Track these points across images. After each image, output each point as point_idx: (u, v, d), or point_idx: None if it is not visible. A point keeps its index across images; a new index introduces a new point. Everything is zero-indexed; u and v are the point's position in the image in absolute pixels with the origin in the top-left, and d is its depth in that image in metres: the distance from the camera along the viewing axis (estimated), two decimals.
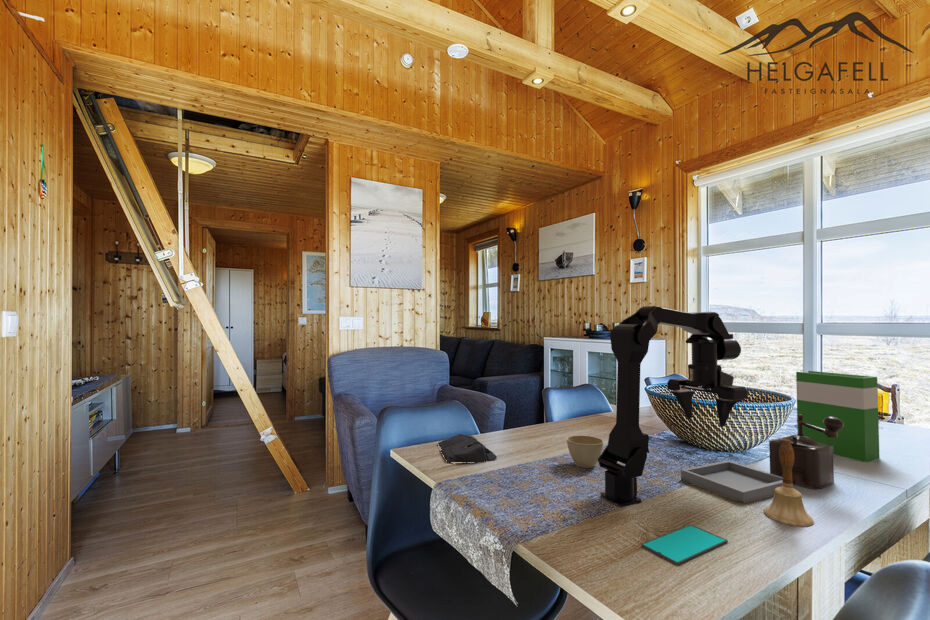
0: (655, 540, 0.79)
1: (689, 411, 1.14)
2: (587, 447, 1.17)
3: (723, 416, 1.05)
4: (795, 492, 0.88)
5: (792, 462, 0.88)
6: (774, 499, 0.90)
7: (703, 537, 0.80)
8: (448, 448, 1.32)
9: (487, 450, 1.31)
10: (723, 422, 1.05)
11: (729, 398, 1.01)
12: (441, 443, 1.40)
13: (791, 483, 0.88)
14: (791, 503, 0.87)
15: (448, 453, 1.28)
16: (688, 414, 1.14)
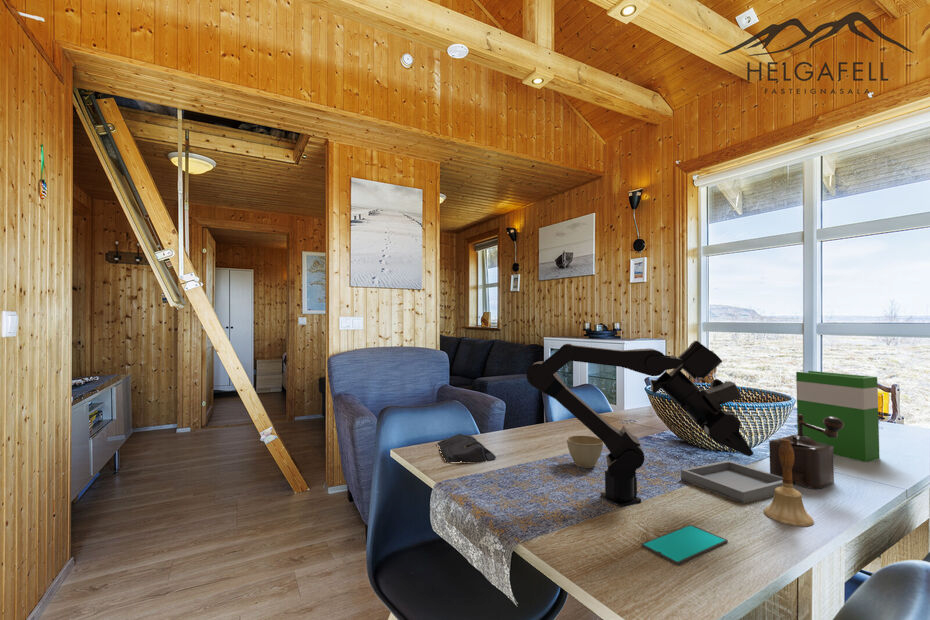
0: (655, 540, 0.79)
1: None
2: (587, 447, 1.17)
3: (738, 449, 0.87)
4: (795, 492, 0.88)
5: (792, 462, 0.88)
6: (774, 499, 0.90)
7: (703, 536, 0.80)
8: (447, 448, 1.32)
9: (486, 450, 1.31)
10: (747, 452, 0.87)
11: None
12: (440, 443, 1.40)
13: (791, 483, 0.88)
14: (791, 503, 0.87)
15: (447, 453, 1.28)
16: None
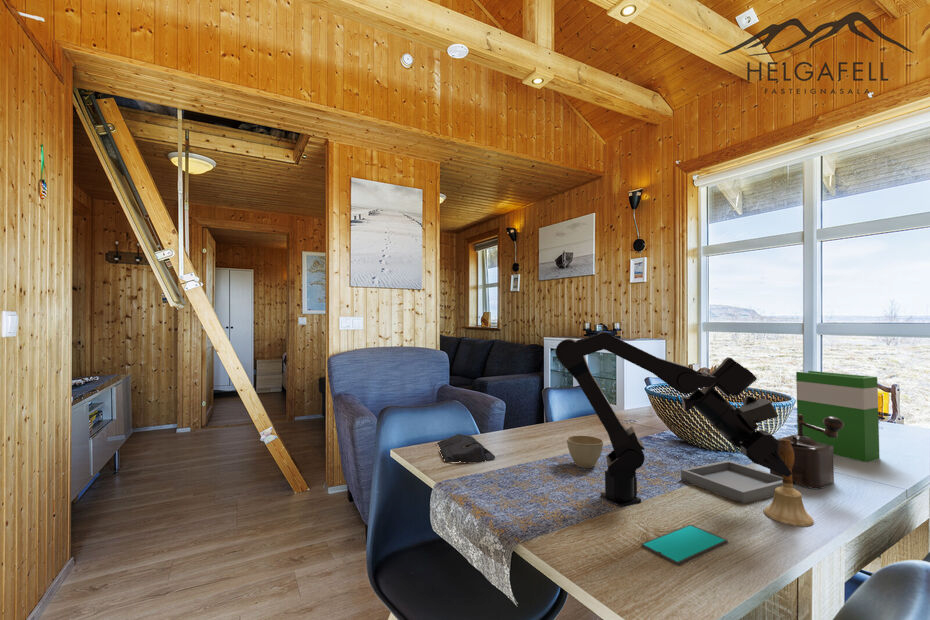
0: (655, 540, 0.79)
1: None
2: (587, 447, 1.17)
3: (776, 469, 0.85)
4: (795, 492, 0.88)
5: (792, 462, 0.88)
6: (774, 499, 0.90)
7: (703, 536, 0.80)
8: (446, 448, 1.32)
9: (485, 450, 1.31)
10: (785, 473, 0.85)
11: (752, 461, 0.84)
12: (440, 443, 1.40)
13: (791, 483, 0.88)
14: (791, 503, 0.87)
15: (446, 453, 1.28)
16: None
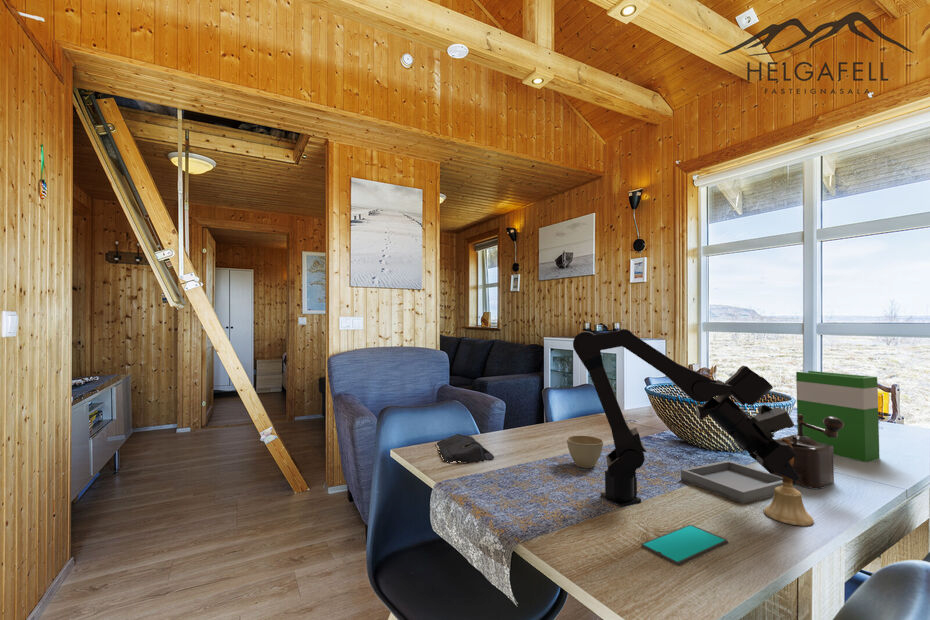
0: (655, 540, 0.79)
1: None
2: (587, 447, 1.17)
3: (785, 473, 0.88)
4: (795, 491, 0.88)
5: (792, 461, 0.88)
6: (774, 498, 0.90)
7: (703, 536, 0.80)
8: (446, 448, 1.32)
9: (485, 450, 1.32)
10: (793, 477, 0.88)
11: (769, 472, 0.83)
12: (439, 443, 1.41)
13: (791, 482, 0.89)
14: (791, 502, 0.87)
15: (445, 452, 1.29)
16: None
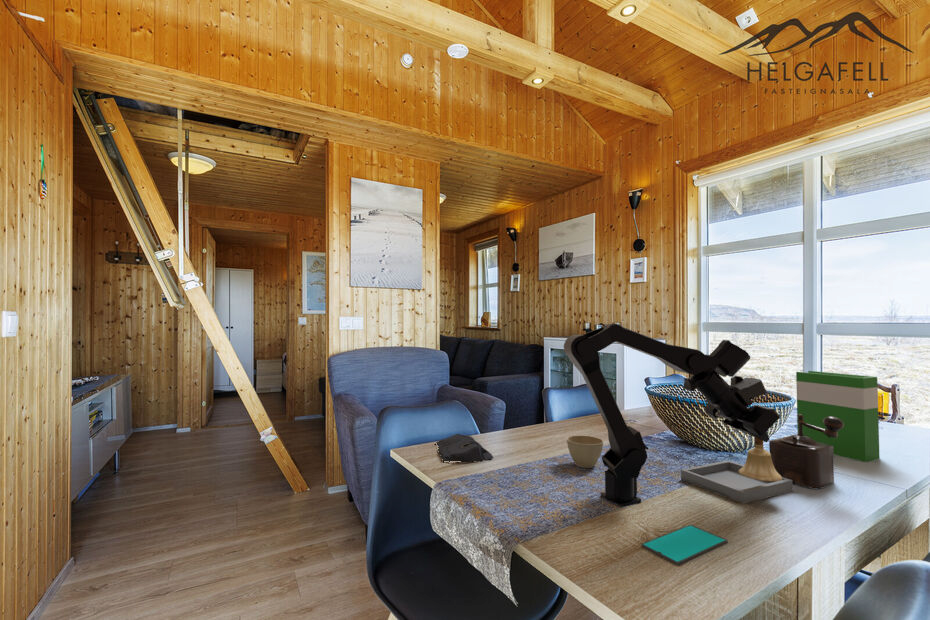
0: (655, 540, 0.79)
1: None
2: (587, 447, 1.17)
3: (759, 436, 0.97)
4: (766, 452, 0.98)
5: None
6: (749, 460, 0.99)
7: (703, 536, 0.80)
8: (445, 448, 1.32)
9: (484, 450, 1.32)
10: (765, 438, 0.98)
11: (758, 434, 0.91)
12: (439, 443, 1.41)
13: (762, 444, 0.98)
14: (765, 462, 0.97)
15: (444, 452, 1.29)
16: None
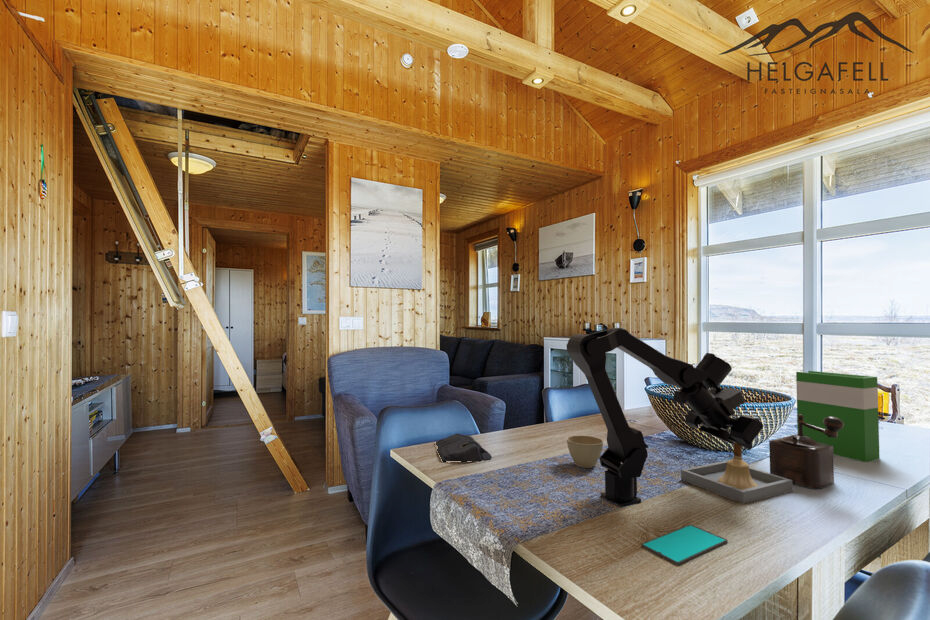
0: (655, 540, 0.79)
1: (728, 437, 1.08)
2: (587, 447, 1.17)
3: (745, 444, 1.02)
4: (745, 462, 1.04)
5: None
6: (729, 471, 1.05)
7: (703, 536, 0.80)
8: (444, 448, 1.33)
9: (483, 450, 1.32)
10: (749, 447, 1.03)
11: (745, 443, 0.96)
12: (438, 442, 1.41)
13: (741, 455, 1.05)
14: (745, 472, 1.03)
15: (443, 452, 1.29)
16: (729, 441, 1.08)
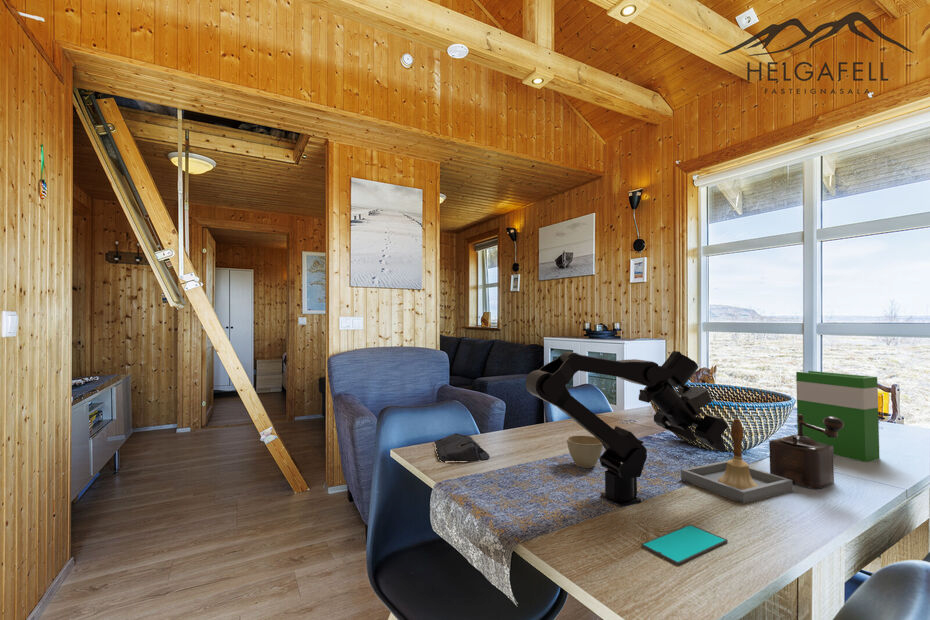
0: (655, 540, 0.79)
1: (690, 435, 1.08)
2: (587, 447, 1.17)
3: (718, 447, 0.98)
4: (745, 462, 1.04)
5: (742, 437, 1.04)
6: (729, 471, 1.05)
7: (703, 536, 0.80)
8: (442, 447, 1.33)
9: (481, 449, 1.32)
10: (722, 449, 0.99)
11: (709, 443, 0.94)
12: (437, 442, 1.41)
13: (741, 455, 1.05)
14: (745, 472, 1.03)
15: (441, 451, 1.29)
16: (691, 438, 1.08)
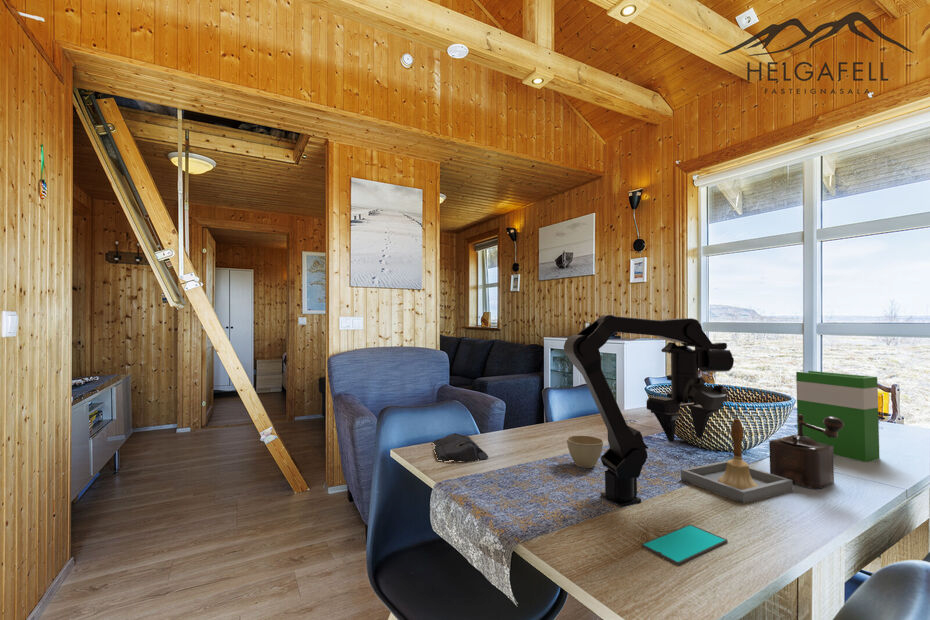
0: (655, 540, 0.79)
1: (698, 429, 1.02)
2: (587, 447, 1.17)
3: (664, 429, 0.99)
4: (745, 462, 1.04)
5: (742, 437, 1.04)
6: (729, 471, 1.05)
7: (703, 536, 0.80)
8: (441, 447, 1.33)
9: (479, 449, 1.32)
10: (668, 437, 0.98)
11: None
12: (435, 442, 1.42)
13: (741, 455, 1.05)
14: (745, 472, 1.03)
15: (440, 451, 1.29)
16: (696, 431, 1.02)
